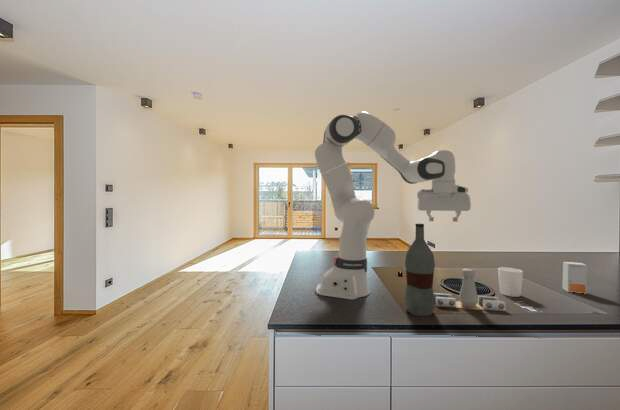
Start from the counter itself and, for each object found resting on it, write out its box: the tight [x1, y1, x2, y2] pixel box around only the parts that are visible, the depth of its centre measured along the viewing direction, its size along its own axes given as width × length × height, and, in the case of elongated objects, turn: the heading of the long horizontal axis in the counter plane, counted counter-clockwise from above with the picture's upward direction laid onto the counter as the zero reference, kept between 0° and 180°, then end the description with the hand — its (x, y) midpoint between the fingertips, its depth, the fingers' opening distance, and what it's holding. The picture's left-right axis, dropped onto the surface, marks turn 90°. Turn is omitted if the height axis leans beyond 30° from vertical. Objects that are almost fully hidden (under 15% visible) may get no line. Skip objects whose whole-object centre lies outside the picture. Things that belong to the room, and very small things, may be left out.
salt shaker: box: [458, 268, 478, 308], centre depth 91 cm, size 6×6×13 cm
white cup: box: [497, 266, 524, 298], centre depth 103 cm, size 8×8×10 cm
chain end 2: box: [477, 295, 506, 312], centre depth 90 cm, size 6×5×3 cm
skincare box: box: [561, 261, 588, 295], centre depth 106 cm, size 6×4×12 cm
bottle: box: [404, 223, 436, 317], centre depth 87 cm, size 9×9×30 cm
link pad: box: [456, 300, 485, 311], centre depth 92 cm, size 9×6×1 cm
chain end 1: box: [433, 292, 457, 309], centre depth 93 cm, size 6×5×3 cm
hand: (443, 221), depth 109 cm, fingers open, 8 cm apart
